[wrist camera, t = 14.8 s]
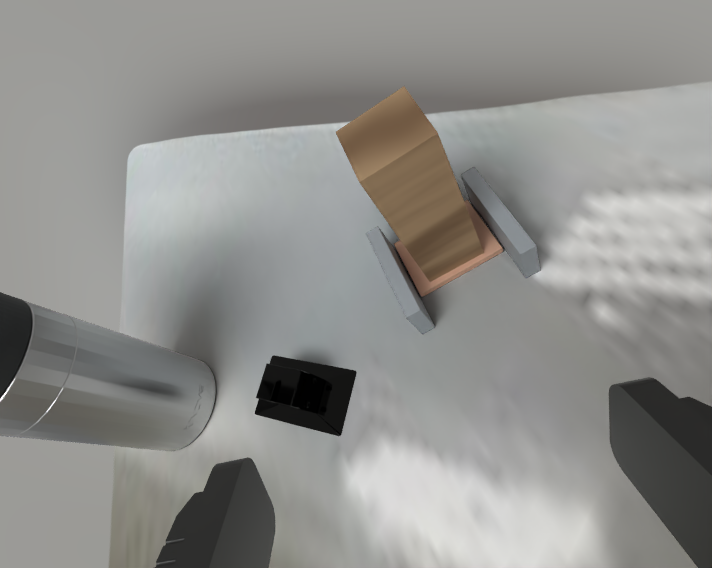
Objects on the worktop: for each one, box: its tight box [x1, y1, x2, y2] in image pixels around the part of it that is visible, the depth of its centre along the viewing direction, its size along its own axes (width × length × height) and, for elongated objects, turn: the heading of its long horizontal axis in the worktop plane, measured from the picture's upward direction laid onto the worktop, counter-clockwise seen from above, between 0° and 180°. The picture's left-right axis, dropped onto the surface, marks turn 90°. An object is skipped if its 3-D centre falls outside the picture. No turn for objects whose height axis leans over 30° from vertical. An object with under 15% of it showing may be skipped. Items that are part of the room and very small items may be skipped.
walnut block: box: [336, 87, 484, 282], centre depth 30 cm, size 5×5×14 cm
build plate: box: [255, 356, 356, 436], centre depth 35 cm, size 12×7×5 cm, turn 75°
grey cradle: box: [366, 167, 540, 334], centre depth 33 cm, size 9×10×4 cm
